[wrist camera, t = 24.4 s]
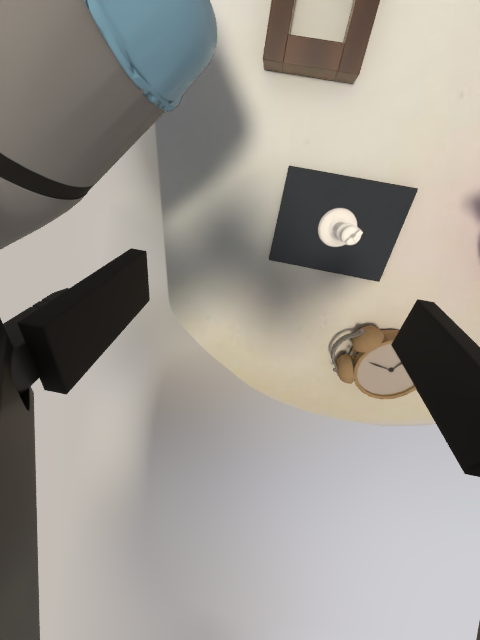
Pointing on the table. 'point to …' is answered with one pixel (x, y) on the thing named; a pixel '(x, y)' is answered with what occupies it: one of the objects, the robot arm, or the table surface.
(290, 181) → the mat
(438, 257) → the table surface
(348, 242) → the chess piece
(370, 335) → the alarm clock
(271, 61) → the holder
